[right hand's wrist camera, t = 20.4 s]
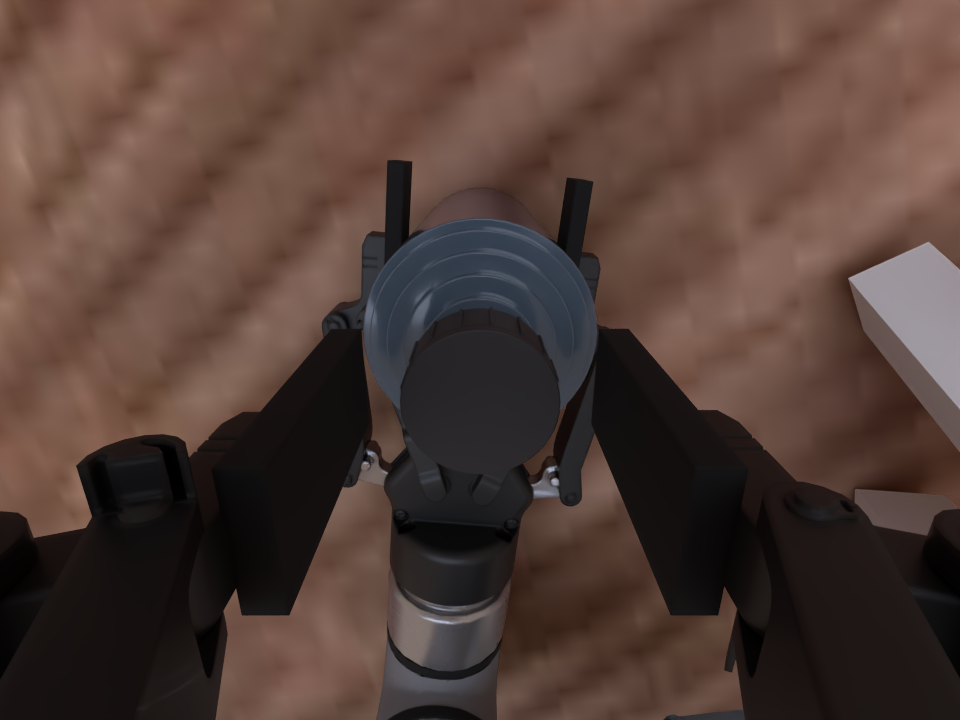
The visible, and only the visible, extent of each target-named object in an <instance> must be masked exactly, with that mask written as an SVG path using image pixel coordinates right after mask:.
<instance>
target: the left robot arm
mask: <svg viewBox="0 0 960 720" xmlns="http://www.w3.org/2000/svg"><path fill="white" fill-rule="evenodd" d="M411 178H412V162H411V161H401V160H388V162H387V192H386V222H385V232H376V231H372V232H371V233H369V234H368V235H367V236H366V238H365V240H364V243H363V245H362V290H361V298H360V299H359V300H356V301H352V302H342V303H339V304H338V305H337V306H336V307H335V308H334V309H333V310H332V311H331V312H330V313H329V314H328V315H327V316H326V317H325V318H324V320H323V322H322V331H323V337H325V336H326V335H327V334H328V332H329V331H330V330H331V329H363V326H364V314H365V309H366V304H367V300H368V297H369V294H370V291H371V288H372V286H373V284H374V282H375V280H376V278H377V276H378V274H379V273H380V271H381V270H382V268H383V267H384V266H385V264H386V263H387V261H388V260H389V259H390V258H391V257H392V255H393V254H394V253H395V252H396V251H397V250H398V249H399V248H400V246H401V245H402V244H403V243H404V242H405V241H406V240H407V238H408V237H409V219H410V198H411ZM592 186H593V182H592V181H588V180H583V179H575V178H567V180H566V187H565V194H564V200H563V207H562V214H561V221H560V227H559V234H558V241H557V244H558V245H559V246H560V247H561V248H562V250H563V251H564V252H565V253H566V254H567V255H568V256H569V257H570V259H571V260H572V261H573V262H574V263H575V265H576V266H577V268H578V269H579V271H580V272H581V274H582V275H583V277H584V279H585V281H586V283H587V285H588V287H589V290H590V293H591V296H592V299H593V302H595V296H596V291H597V285H598V280H599V274H600V265H599V260H598V258H597V257H596V256H595V255H594V254H593V253H587V252H582V246H583V240H584V234H585V228H586V222H587V216H588V210H589V204H590V198H591V192H592ZM599 329H609V328H607V327H602V326H600V325H597V338H596V347H595V351H594V356H593V360H592V363H591V365H590V368H589V371H588V373H587V375H586V377H585V379H584V381H583V383H582V384H581V386H580V388H579V389H578V390H577V392H576V393H575V395H574V396H573V397H572V398H571V400H570V401H569V402H568V403H567V406H566V409H565V412H564V415H563V418H562V421H561V424H560V427H559V429H558V432H557V435H556V439H555V442H554V449H553V456H548V457H546V459H545V461H543V463H542V466H541V469H540V471H539V472H538V473H537V474H535V475H532V476H530V474H529V473H528V471H527V470H526V468H525V467H524V465H523V464H521V465H519V466H516V467H514V468H512V469H509V470H506V471H503V472H498V473H493V474H468V473H462V472H458V471H454V470H451V469H449V468H446V467H444V466H442V465H440V464H438V463H436V462H435V461H433V460H432V459H430V458H429V457H428V456H426V455H425V454H424V453H423V452H422V451H421V450H420V449H419V448H418V447H417V446H416V445H415V443H414V442H413V440H412V439H411V437H410V436H409V434H408V432H407V430H406V428H405V425H404V422H403V419H402V415H401V410H400V409H398V408H397V407H396V406H395V405H394V404H393V406H394V408H395V411H396V413H397V416H398V419H399V421H400V424H401V426H402V430H403V438H404V441H405V444H406V448H405V449H404V450H403V451H402V452H401V453H400V454H399V456H398V457H397V458H396V459H395V460H394V461H393V462H392V463H391V464H390V463H388V462H386V461H385V460H384V459H383V458H382V454H381V448H380V446H379V445H378V443H377V442H376V441H374V440H371V437H372V417H371V409H370V402H369V395H368V388H367V380H366V373H365V382H366V394H367V406H368V418H369V424H368V427H367V429H366V432H365V434H364V436H363V439H362V441H361V444H360V446H359V448H358V451H357V453H356V456H355V458H354V461H353V463H352V465H351V468H350V470H349V473H348V475H347V477H346V480H345V482H344V485H343V487H348V488H349V487H353V486H354V485H355V484H356V483H357V481H358V480H361V481H365V482H369V483H373V484H376V485H380V486H384V490H385V493H386V495H387V496H388V498H389V500H390V502H391V505H392V522H391V544H390V565H391V567H390V571H389V587H388V620H387V646H386V658H385V670H384V679H383V686H382V692H381V697H380V703H379V708H378V714H377V719H376V720H497V706H496V686H497V673H498V664H499V655H500V646H501V642H502V636H503V631H504V627H505V621H506V614H507V608H508V601H509V595H510V588H511V575H512V573H513V567H514V560H515V554H516V547H517V541H518V534H519V528H520V521H521V517H522V515H523V513H524V512H525V510H526V509H527V508H528V507H529V506H530V504H531V503H532V501H533V499H540V498H551V497H560V500H561V502H562V503H563V504H564V505H566V506H574V505H577V504H578V503H579V502H580V501H581V498H582V488H581V468H582V466H583V463H584V460H585V458H586V455H587V452H588V450H589V447H590V444H591V442H592V439H593V436H594V433H595V432H594V429H593V427H592V424H591V418H592V406H593V394H594V382H595V370H596V358H597V346H598V334H599ZM364 370H365V366H364ZM392 403H393V402H392ZM664 720H745V717H744V710H733V711H724V712H715V713H707V714H698V715H689V716H681V717H679V716H676V715H670V716H667V717H666V718H665V719H664Z"/></svg>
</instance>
